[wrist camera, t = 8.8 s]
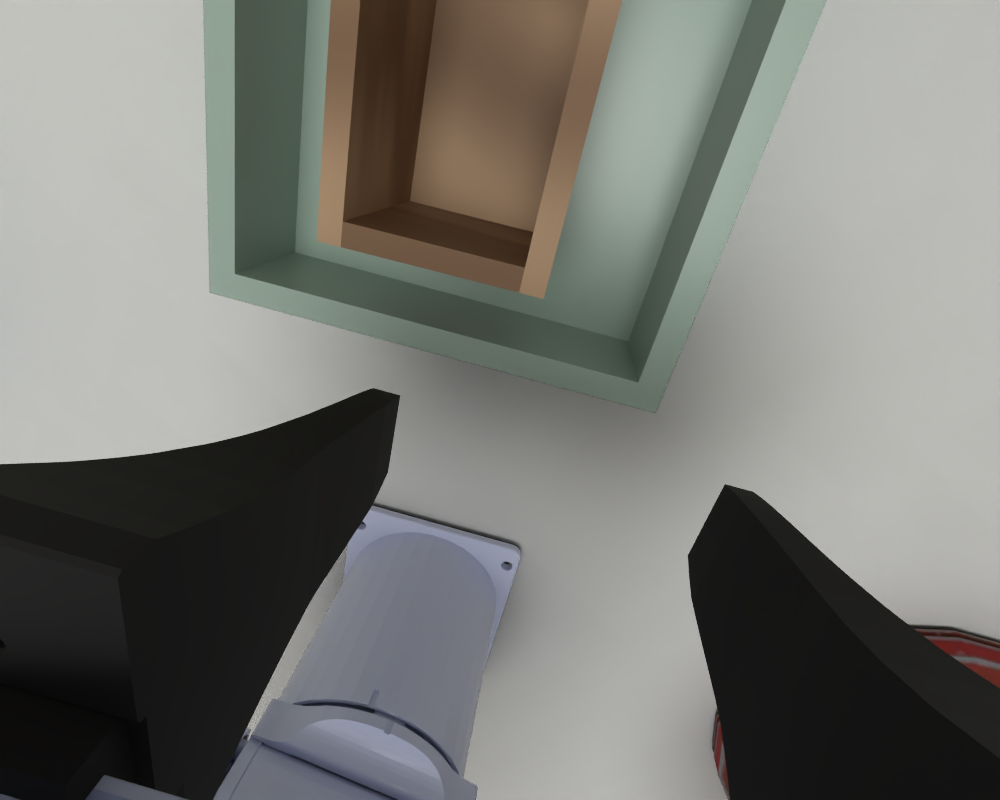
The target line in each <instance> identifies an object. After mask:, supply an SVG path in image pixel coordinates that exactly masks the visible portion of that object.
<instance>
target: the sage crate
mask: <svg viewBox="0 0 1000 800" xmlns="http://www.w3.org/2000/svg"><path fill="white" fill-rule="evenodd" d="M825 3H826V0H622V3H621V7H620V10H619V14H618V18H617V22H616V26H615V29H614V33H613V37H612V41H611V45H610V48H609V52H608V56H607V60H606V64H605V67H604V71H603V75H602V79H601V83H600V86H599V90H598V94H597V98H596V102H595V106H594V109H593V113H592V117H591V121H590V125H589V128H588V132H587V136H586V140H585V144H584V147H583V151H582V155H581V159H580V163H579V166H578V170H577V174H576V178H575V182H574V185H573V189H572V193H571V197H570V201H569V205H568V208H567V212H566V216H565V220H564V224H563V227H562V231H561V235H560V239H559V243H558V246H557V250H556V254H555V258H554V262H553V265H552V269H551V273H550V277H549V281H548V284H547V288H546V292H545V296H544V299H542V298H538V297H534V296H530V295H526V294H522V293H518V292H514V291H510V290H506V289H502V288H499V287H495V286H491V285H487V284H483V283H479V282H475V281H471V280H467V279H463V278H459V277H456V276H452V275H448V274H444V273H440V272H436V271H432V270H428V269H424V268H420V267H416V266H412V265H409V264H405V263H401V262H397V261H393V260H389V259H385V258H381V257H377V256H373V255H369V254H365V253H362V252H358V251H354V250H350V249H346V248H342V247H338V246H334V245H330V244H326V243H322V242H318V241H317V225H318V208H319V191H320V174H321V157H322V140H323V123H324V106H325V90H326V73H327V56H328V39H329V22H330V5H331V0H203V11H204V57H205V103H206V148H207V194H208V240H209V286H210V293H212V294H216V295H220V296H224V297H227V298H231V299H235V300H238V301H242V302H246V303H249V304H253V305H257V306H261V307H264V308H268V309H272V310H275V311H279V312H283V313H286V314H290V315H294V316H298V317H301V318H305V319H309V320H312V321H316V322H320V323H323V324H327V325H331V326H335V327H338V328H342V329H346V330H349V331H353V332H357V333H360V334H364V335H368V336H372V337H375V338H379V339H383V340H386V341H390V342H394V343H397V344H401V345H405V346H408V347H412V348H416V349H420V350H423V351H427V352H431V353H434V354H438V355H442V356H445V357H449V358H453V359H457V360H460V361H464V362H468V363H471V364H475V365H479V366H482V367H486V368H490V369H494V370H497V371H501V372H505V373H508V374H512V375H516V376H519V377H523V378H527V379H531V380H534V381H538V382H542V383H545V384H549V385H553V386H556V387H560V388H564V389H568V390H571V391H575V392H579V393H582V394H586V395H590V396H593V397H597V398H601V399H604V400H608V401H612V402H616V403H619V404H623V405H627V406H630V407H634V408H638V409H641V410H645V411H649V412H653V413H656V410H657V408H658V406H659V403H660V401H661V398H662V396H663V394H664V391H665V389H666V386H667V384H668V382H669V379H670V377H671V374H672V372H673V369H674V367H675V365H676V362H677V360H678V357H679V355H680V353H681V350H682V348H683V345H684V343H685V341H686V338H687V336H688V333H689V331H690V328H691V326H692V324H693V321H694V319H695V316H696V314H697V312H698V309H699V307H700V304H701V302H702V299H703V297H704V295H705V292H706V290H707V287H708V285H709V283H710V280H711V278H712V275H713V273H714V271H715V268H716V266H717V263H718V261H719V258H720V256H721V254H722V251H723V249H724V246H725V244H726V242H727V239H728V237H729V234H730V232H731V229H732V227H733V225H734V222H735V220H736V217H737V215H738V213H739V210H740V208H741V205H742V203H743V201H744V198H745V196H746V193H747V191H748V188H749V186H750V184H751V181H752V179H753V176H754V174H755V172H756V169H757V167H758V164H759V162H760V160H761V157H762V155H763V152H764V150H765V147H766V145H767V143H768V140H769V138H770V135H771V133H772V131H773V128H774V126H775V123H776V121H777V118H778V116H779V114H780V111H781V109H782V106H783V104H784V102H785V99H786V97H787V94H788V92H789V90H790V87H791V85H792V82H793V80H794V77H795V75H796V73H797V70H798V68H799V65H800V63H801V61H802V58H803V56H804V53H805V51H806V48H807V46H808V44H809V41H810V39H811V36H812V34H813V32H814V29H815V27H816V24H817V22H818V20H819V17H820V15H821V12H822V10H823V7H824V5H825Z"/></svg>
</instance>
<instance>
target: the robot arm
mask: <svg viewBox="0 0 1000 800" xmlns="http://www.w3.org/2000/svg"><path fill="white" fill-rule="evenodd" d="M399 399H400V395H396V394H392V393H389V392H385V391H381V390H378V389H374V388H373V389H369V390H366V391H364V392H361V393H359V394H356V395H354V396H351V397H349V398H347V399H344V400H342V401H340V402H337V403H335V404H332V405H330V406H327V407H325V408H322V409H320V410H317V411H315V412H312V413H310V414H307V415H305V416H302V417H299V418H296V419H293V420H290V421H287V422H284V423H282V424H279V425H276V426H273V427H270V428H267V429H264V430H261V431H257V432H254V433H250V434H247V435H243V436H239V437H235V438H231V439H227V440H223V441H219V442H214V443H210V444H205V445H199V446H193V447H188V448H182V449H176V450H170V451H165V452H159V453H153V454H145V455H137V456H129V457H120V458H109V459H98V460H87V461H73V462H53V463H25V464H0V800H476V796H477V789H478V788H477V786H476V785H475V784H473V783H471V782H469V781H467V780H465V779H464V778H463V776H464V771H465V766H466V760H467V755H468V750H469V745H470V739H471V734H472V729H473V724H474V718H475V713H476V708H477V702H478V697H479V692H480V687H481V681H482V676H483V672H484V669H485V666H486V662H487V659H488V656H489V653H490V650H491V647H492V644H493V641H494V638H495V635H496V632H497V629H498V626H499V623H500V620H501V617H502V614H503V611H504V608H505V605H506V602H507V599H508V596H509V593H510V589H511V586H512V583H513V580H514V577H515V574H516V571H517V568H518V565H519V562H520V558H521V552H520V549H519V548H518V547H516V546H514V545H512V544H508V543H504V542H501V541H497V540H494V539H490V538H487V537H483V536H479V535H476V534H472V533H469V532H465V531H461V530H458V529H454V528H451V527H447V526H444V525H440V524H436V523H433V522H429V521H426V520H422V519H418V518H415V517H411V516H408V515H404V514H401V513H397V512H393V511H390V510H386V509H383V508H379V507H375V506H372V504H373V502H374V500H375V498H376V496H377V494H378V492H379V490H380V488H381V486H382V484H383V481H384V479H385V477H386V475H387V473H388V468H389V462H390V455H391V449H392V443H393V437H394V430H395V424H396V418H397V412H398V405H399ZM362 521H363V522H364V523H365V524H362ZM347 544H348V545H347ZM346 545H347V553H346V561H345V569H344V577H343V583H342V585H341V587H340V589H339V591H338V593H337V594H336V596H335V598H334V600H333V602H332V603H331V605H330V607H329V609H328V611H327V612H326V614H325V616H324V618H323V620H322V621H321V623H320V625H319V627H318V629H317V631H316V632H315V634H314V636H313V638H312V640H311V641H310V643H309V645H308V647H307V649H306V650H305V652H304V654H303V656H302V658H301V660H300V661H299V663H298V665H297V667H296V669H295V670H294V672H293V674H292V676H291V678H290V679H289V681H288V683H287V685H286V687H285V689H284V690H283V692H282V694H281V696H280V698H279V699H272V700H271V702H270V703H269V705H268V707H267V709H266V710H265V712H264V714H263V716H262V718H261V719H260V721H259V723H258V725H257V726H256V728H255V730H254V732H253V733H252V735H251V737H250V739H249V741H248V737H249V733H250V730H251V729H249V728H247V726H248V724H249V722H250V720H251V718H252V715H253V713H254V711H255V709H256V707H257V705H258V703H259V701H260V699H261V697H262V695H263V693H264V691H265V689H266V687H267V685H268V683H269V681H270V679H271V677H272V675H273V673H274V671H275V669H276V667H277V665H278V663H279V661H280V659H281V657H282V655H283V653H284V651H285V649H286V647H287V645H288V643H289V641H290V639H291V637H292V635H293V633H294V631H295V629H296V627H297V625H298V624H299V622H300V620H301V618H302V616H303V614H304V612H305V610H306V608H307V606H308V605H309V603H310V601H311V600H312V598H313V596H314V595H315V593H316V591H317V590H318V588H319V586H320V585H321V583H322V582H323V580H324V579H325V577H326V576H327V574H328V573H329V571H330V570H331V568H332V567H333V565H334V564H335V562H336V561H337V559H338V558H339V556H340V555H341V553H342V551H343V550H344V548H345V547H346ZM504 562H509V563H511V564H510V565H509V564H505V563H504ZM688 563H689V578H690V588H691V597H692V602H693V607H694V611H695V616H696V620H697V624H698V629H699V633H700V637H701V641H702V645H703V649H704V654H705V658H706V662H707V666H708V670H709V674H710V678H711V682H712V686H713V691H714V695H715V699H716V704H717V709H718V714H719V719H720V724H721V731H722V738H723V746H724V753H725V761H726V768H727V776H728V785H729V795H730V800H1000V688H998V687H997V686H995V685H994V684H992V683H991V682H989V681H988V680H986V679H985V678H983V677H982V676H980V675H979V674H977V673H976V672H974V671H973V670H971V669H970V668H968V667H967V666H965V665H964V664H962V663H961V662H959V661H958V660H956V659H955V658H953V657H952V656H951V655H949V654H948V653H946V652H945V651H943V650H942V649H941V648H939V647H938V646H936V645H935V644H934V643H932V642H931V641H930V640H928V639H927V638H926V637H924V636H923V635H922V634H920V633H919V632H918V631H916V630H915V629H914V628H912V627H911V626H909V625H908V624H907V623H905V622H904V621H903V620H901V619H900V618H899V617H898V616H896V615H895V614H894V613H892V612H891V611H890V610H889V609H887V608H886V607H885V606H884V605H882V604H881V603H880V602H879V601H878V600H876V599H875V598H874V597H873V596H872V595H870V594H869V593H868V592H867V591H866V590H864V589H863V588H862V587H861V586H860V585H858V584H857V583H856V582H855V581H854V580H853V579H851V578H850V577H849V576H848V575H847V574H846V573H845V572H843V571H842V570H841V569H840V568H839V567H838V566H837V565H835V564H834V563H833V562H832V561H831V560H830V559H829V558H828V557H827V556H825V555H824V554H823V553H822V552H821V551H820V550H819V549H818V548H817V547H816V546H814V545H813V544H812V543H811V542H810V541H809V540H808V539H807V538H806V537H805V536H804V535H803V534H801V533H800V532H799V531H798V530H797V529H796V528H795V527H794V526H793V525H792V524H791V523H790V522H788V521H787V520H786V519H785V518H784V517H783V516H782V515H781V514H780V513H778V512H777V511H776V510H775V509H774V508H773V507H772V506H770V505H769V504H768V503H767V502H766V501H764V500H763V499H762V498H761V497H759V496H758V495H757V494H755V493H754V492H751V491H748V490H744V489H740V488H737V487H733V486H729V485H726V484H725V485H724V487H723V489H722V491H721V493H720V495H719V497H718V499H717V501H716V502H715V504H714V506H713V508H712V510H711V512H710V514H709V516H708V518H707V520H706V522H705V524H704V526H703V528H702V529H701V531H700V533H699V535H698V537H697V539H696V541H695V543H694V545H693V547H692V549H691V551H690V553H689V554H688Z"/></svg>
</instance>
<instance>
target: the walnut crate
mask: <svg viewBox="0 0 1000 800" xmlns="http://www.w3.org/2000/svg"><path fill="white" fill-rule="evenodd" d="M621 3H622V0H331V5H330V22H329V39H328V56H327V73H326V90H325V106H324V123H323V140H322V157H321V174H320V191H319V208H318V225H317V241H318V242H322V243H326V244H330V245H334V246H338V247H342V248H346V249H350V250H354V251H358V252H362V253H365V254H369V255H373V256H377V257H381V258H385V259H389V260H393V261H397V262H401V263H405V264H409V265H412V266H416V267H420V268H424V269H428V270H432V271H436V272H440V273H444V274H448V275H452V276H456V277H459V278H463V279H467V280H471V281H475V282H479V283H483V284H487V285H491V286H495V287H499V288H502V289H506V290H510V291H514V292H518V293H522V294H526V295H530V296H534V297H538V298H542V299H544V296H545V292H546V288H547V284H548V281H549V277H550V273H551V269H552V265H553V262H554V258H555V254H556V250H557V246H558V243H559V239H560V235H561V231H562V227H563V224H564V220H565V216H566V212H567V208H568V205H569V201H570V197H571V193H572V189H573V185H574V182H575V178H576V174H577V170H578V166H579V163H580V159H581V155H582V151H583V147H584V144H585V140H586V136H587V132H588V128H589V125H590V121H591V117H592V113H593V109H594V106H595V102H596V98H597V94H598V90H599V86H600V83H601V79H602V75H603V71H604V67H605V64H606V60H607V56H608V52H609V48H610V45H611V41H612V37H613V33H614V29H615V26H616V22H617V18H618V14H619V10H620V7H621Z"/></svg>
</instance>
